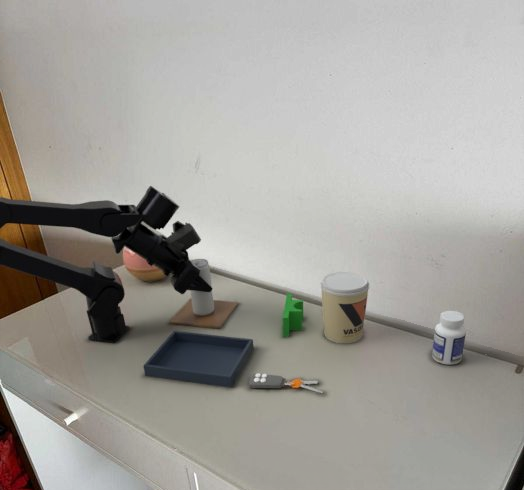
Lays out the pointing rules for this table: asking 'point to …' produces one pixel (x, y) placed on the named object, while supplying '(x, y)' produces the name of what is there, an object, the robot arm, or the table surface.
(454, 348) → the pill bottle
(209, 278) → the beverage can
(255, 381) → the key chain
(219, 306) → the cork mat
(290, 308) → the pipe clamp
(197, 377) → the tray
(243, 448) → the table surface
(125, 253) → the vase
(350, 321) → the beige lidded tub
